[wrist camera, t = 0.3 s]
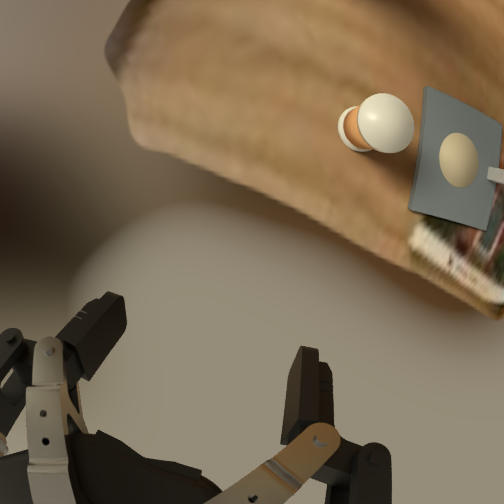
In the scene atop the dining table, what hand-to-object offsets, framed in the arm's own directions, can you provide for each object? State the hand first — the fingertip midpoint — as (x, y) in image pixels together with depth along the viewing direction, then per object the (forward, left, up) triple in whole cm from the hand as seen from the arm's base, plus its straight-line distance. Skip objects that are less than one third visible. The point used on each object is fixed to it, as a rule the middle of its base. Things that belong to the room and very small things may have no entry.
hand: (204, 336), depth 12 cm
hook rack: (-13, +29, -27) cm, 41 cm away
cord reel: (-13, +12, -27) cm, 32 cm away
